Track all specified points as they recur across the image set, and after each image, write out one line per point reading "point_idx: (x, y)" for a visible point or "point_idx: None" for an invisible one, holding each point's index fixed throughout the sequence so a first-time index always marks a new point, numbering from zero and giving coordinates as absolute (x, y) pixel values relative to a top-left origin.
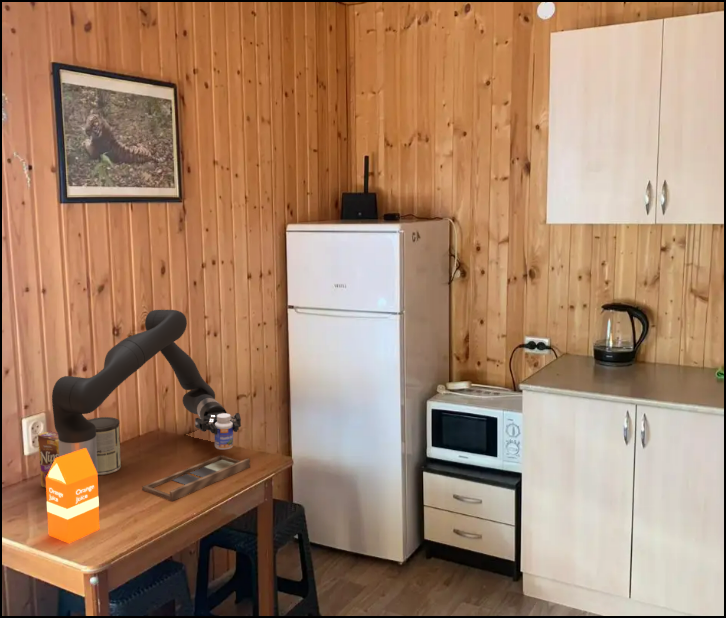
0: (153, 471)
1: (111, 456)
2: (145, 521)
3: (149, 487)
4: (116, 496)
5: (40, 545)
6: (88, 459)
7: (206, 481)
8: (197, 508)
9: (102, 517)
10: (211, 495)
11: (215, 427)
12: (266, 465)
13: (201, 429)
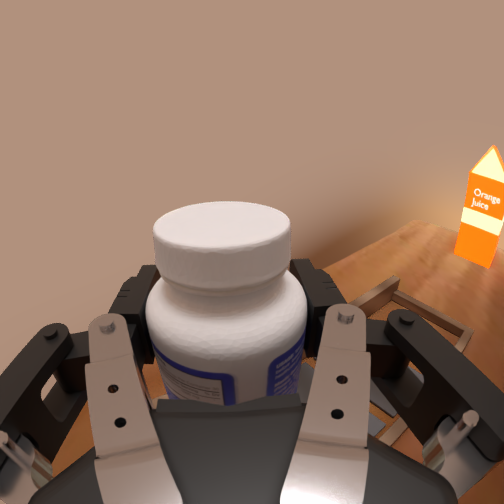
0: None
1: None
2: (407, 256)
3: (457, 325)
4: (497, 318)
5: None
6: (483, 156)
7: None
8: (333, 269)
9: (470, 271)
10: None
11: (302, 259)
12: (85, 412)
13: (410, 372)
